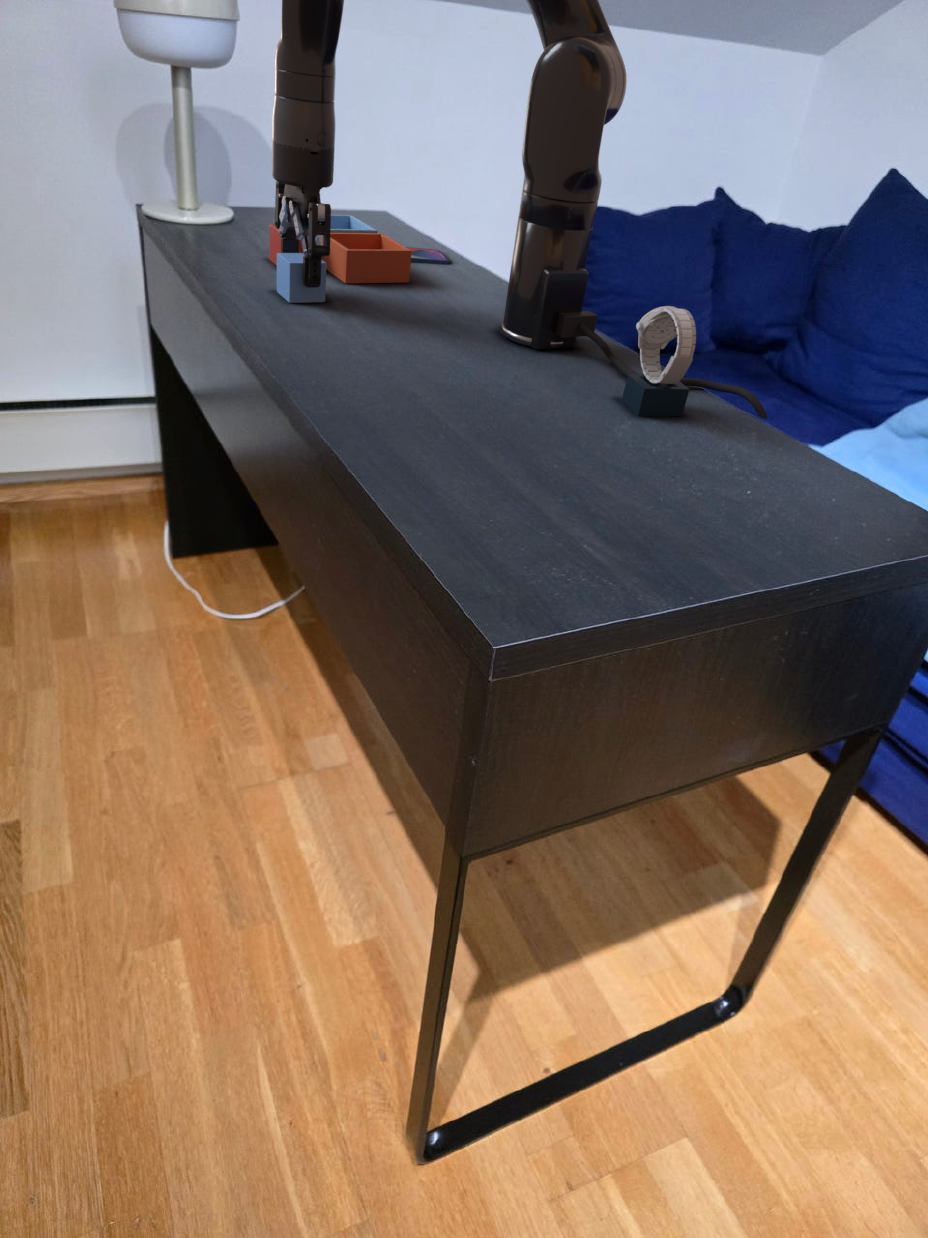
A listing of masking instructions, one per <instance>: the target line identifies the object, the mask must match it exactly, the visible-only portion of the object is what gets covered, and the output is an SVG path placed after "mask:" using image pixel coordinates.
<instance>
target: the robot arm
mask: <svg viewBox="0 0 928 1238" xmlns="http://www.w3.org/2000/svg"><path fill="white" fill-rule="evenodd" d="M525 2H526V3H527V5H528V7H529V9H530V12H531V14H532V18H533V20H534V23H535V25H536V28H537V31H538V34H539V35H538V36H539V38H540V41H541V42H540V43H541V45H542V49H543V51H542V53H541V54H540V55H539V57H538V60H537V61H536V64H535V67H534V69H533V72H532V76H531V78H530V79H531V80H530V84H529V89H528V95H527V105H526V113H525V122H524V131H523V141H522V151H521V158H522V159H521V162H522V168H523V183H522V190H521V197H520V202H519V203H520V204H519V209H518V210H519V211H518V217H517V218H518V219H517V223H516V231H515V238H514V245H513V249H512V250H513V251H512V257H511V265H510V271H509V279H508V285H507V291H506V297H505V298H506V300H505V308H504V315H503V320H502V323H501V328H500V333H501V334H502V336H503V337H504V338H506V339H508V340H509V341H511V342H513V343H517V344H518V345H519V344H520V345H523V346H528V347H530V348H532V349H534V350H553V349H569V348H575V347H576V341H577V338H581V337H587V338H589V340H591V341H593V342H594V343H595V344H596V345H597V346H598V347H599V348H600V349H601V351H602V352H603V353H604V355H605V357H606V358H607V359H608V360H609V361H610V363H611V364H612V365H613V366H614V367H615V368H616V369H617V370H618V371H619V372H620V373H621V374H622V375H623V376H624V377H625V378H627V376H628V374H640V372H636V371H634V370H631V369H630V368H628V367H627V366H626V365H625V364H624V363H623V362H622V360H620V359H619V358H618V357H617V356H616V355H615V353H614V352H613V351H612V349H611V347H610V346H609V345H608V343H607V342H606V341H605V340H604V339H603V338H602V337H601V336H600V335H598V334H597V333H596V332H595V331H596V327H597V322H598V317H599V315H598V314H597V313H594V312H592V311H590V310H583V305H584V302H585V296H586V291H587V285H588V281H589V271H588V269H586V266H587V261H588V256H589V251H590V245H591V240H592V235H593V234H592V233H593V231H594V230H593V229H594V226H595V225H594V224H595V219H596V214H597V210H598V204H599V200H600V193H601V189H602V181H603V177H602V174H601V172H600V164H599V163H600V161H599V159H600V151H601V145H602V140H603V132H604V126H605V125H608V123H610V122H611V121H612V120H613V119H614V118H615V117H616V116H617V114H618V113H619V112H620V110H621V108H622V106H623V103H624V100H625V96H626V94H627V93H626V92H627V83H628V82H627V81H628V80H627V79H628V78H627V70H626V65H625V62H624V59H623V56H622V54H621V51H620V49H619V46H618V45H617V42H616V40H615V37H614V35H613V33H612V31H611V28H610V25H609V24H608V21H607V19H606V16H605V14H604V11H603V8H602V6H601V4H600V1H599V0H525ZM344 4H345V0H281V29H280V31H281V34H280V39H279V41H278V42H277V44H276V50H275V62H274V63H275V64H274V68H275V69H274V93H275V94H274V103H273V108H272V135H271V136H272V139H271V140H272V141H271V142H272V144H271V145H272V148H271V149H272V150H271V151H272V152H271V154H272V155H271V157H272V158H271V159H272V160H271V163H272V164H271V170H272V171H271V173H272V174H271V175H272V178H273V179H274V180H275V197H274V198H275V200H274V224H275V227H276V229H279V235H280V237H283V238H281V253H299V240H301V243H302V248H303V254H304V256H303V285H304V286H305V287H308V288H314V287H319V286H320V284H321V260H322V258H321V257H324V256H329V255H330V231H331V215H332V207H331V204H330V203H323V202H322V201H321V193H320V192H321V190H322V189H324V188H325V189H327V188H329V187H331V186H332V185H333V183H334V171H335V170H334V169H335V148H336V147H335V146H336V110H335V99H336V72H337V71H336V70H337V69H336V67H337V66H336V65H337V64H336V58H337V57H336V56H337V49H338V45H339V39H340V34H341V27H342V20H343V15H344ZM297 238H298V239H297ZM322 238H323V239H322ZM315 241H316V245H315ZM680 382H681V383H682V384H684V385H685V386H686V387H697V388H701V389H707V390H711V391H716V392H723V393H727V394H732V395H736V396H739V397H741V398H743V399H745V400H746V401H747V402H748V403H749V404H750V405H751V406H752V407H753V409H754V411H755V412H756V414H757V416H758V417H759V418H761V419H768V415H767V412H766V410H765V408H764V405H763V404H762V403H761V401H760V400H759V399H758V398H757V396H756V395H755V394H754V393H753V392H751V391H749V390H748V389H746V388H743V387H741V386H737V385H732V384H726V383H721V382H716V381H711V380H706V379H701V378H694V377H693V378H692V377H682V379H681V380H680Z"/></svg>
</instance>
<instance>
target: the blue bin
mask: <svg viewBox="0 0 928 1238" xmlns="http://www.w3.org/2000/svg"><path fill="white" fill-rule="evenodd" d="M330 233H378V230H377V229H376V228H374V227H372V226H371V225H369V224H368V223H365V222H364V221H362V220H360V219H358V218H357V217H356V216H353V215H352V214H331V231H330ZM315 245H316V241H315Z"/></svg>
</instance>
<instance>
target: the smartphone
mask: <svg viewBox="0 0 928 1238" xmlns="http://www.w3.org/2000/svg"><path fill="white" fill-rule="evenodd" d="M405 247H406V248H408V249H410V250H411V251H412V253H411V263H423V264H440V265H446V264H447V265H449V263H450V259H449V258H448V257H447V256H446V255H445V254H443V252H441V251H440V250H438V249H433V248H420V247H410V246H409V247H408V246H405Z"/></svg>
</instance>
